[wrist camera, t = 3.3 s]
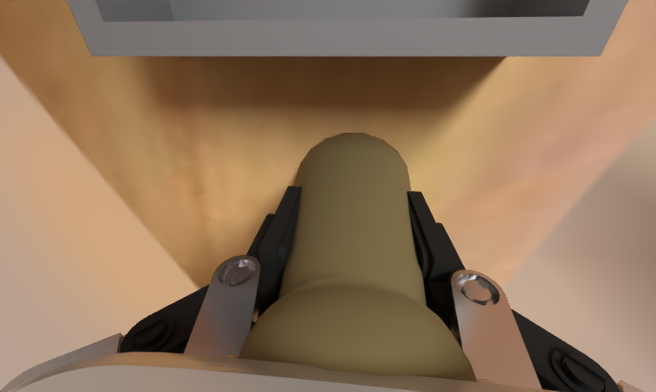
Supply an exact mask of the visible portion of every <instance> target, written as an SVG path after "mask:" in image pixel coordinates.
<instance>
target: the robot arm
mask: <svg viewBox="0 0 656 392" xmlns="http://www.w3.org/2000/svg"><path fill="white" fill-rule="evenodd" d="M300 189H301V187H297V186H288V188H287V190H286V192H285V194H284V196H283V198H282V201H281V203H280V205H279V207H278V209H277V211H276V213H275V214H268V215H267V216H266V218H265V220H264V222H263V224H262V226H261V228H260V230H259V231H258V233H257V235H256V237H255V239H254V241H253V243H252V245H251V247H250V249H249V251H248V253H247V254H246V255H240V256H235V257H232V258H230V259H228V260H226V261H225V262H223V263H222V264H221V265H220V266H219V267H218V268H217V269H216V271H215V273H214V275H213V277H212V280H211V283H210V284H209V285H207V286H205V287H203V288H201V289H200V290H198V291H196V292H194V293H192V294H190V295H188V296H186V297H184V298H182V299H180V300H178V301H176V302H174V303H172V304H170V305H168V306H167V307H165V308H163V309H161V310H159V311H157V312H155V313H153V314H151V315H149V316H147V317H146V318H144V319H143V320H141V321H139V322H138V323H137V324H136V325H135V326H134V327H132V328H131V330H130V331H129V332H128V333H127V334H126V335H124V336H123V335H122V334H121V333H119V334H116V335H113V336H111V337H108V338H106V339H103V340H101V341H98V342H95V343H93V344H90V345H88V346H85V347H82V348H80V349H77V350H75V351H72V352H70V353H67V354H65V355H62V356H59V357H57V358H54V359H52V360H49V361H47V362H44V363H41V364H39V365H37V366H34V367H32V368H30V369H28V370H27V371H24V372H23V373H22V374H20V375H19V376H17V377H16V378H14V379H13V380H12V381H10V382H9V383H8V384H7V385H6V386H5V387H4V388H3V389H2V390H1V391H0V392H643V391H641V390H639V389H638V388H636V387H634V386H632V385H630V384H628V383H626V382H624V381H622V380H621V381H620V382H618V383H616V382H614V380H613V379H612V378H611V376H610V375H609V374H608V373H607V372H606V371H605V370H604V369H603V368H602V367H601V366H600V365H599V364H598V363H596V362H595V361H594V360H592V359H591V358H589V357H588V356H587V355H585V354H584V353H582V352H580V351H578V350H577V349H575V348H574V347H572V346H571V345H569V344H567V343H566V342H564V341H562V340H561V339H559V338H558V337H556V336H554V335H553V334H551V333H550V332H548V331H546V330H545V329H543V328H541V327H540V326H538V325H536V324H535V323H533V322H532V321H530V320H529V319H527V318H525V317H524V316H522V315H520V314H519V313H517V312H515V311H514V310H512V309H511V308H510V306H509V303H508V301H507V298H506V295H505V293H504V292H503V290H502V288H501V287H500V286H499V285H498V284H497V283H496V282H495V281H494V280H492V279H491V278H489V277H488V276H486V275H484V274H482V273H480V272H476V271H473V270H466V269H465V267H464V266H463V264H462V262H461V260H460V258H459V256H458V254H457V252H456V250H455V248H454V246H453V244H452V242H451V240H450V238H449V236H448V234H447V232H446V230H445V228H444V226H443V225H442V224H441V223H436V222H435V220H434V218H433V216H432V213H431V211H430V209H429V207H428V205H427V203H426V201H425V199H424V197H423V195H422V193H421V192H416V191H407V193H408V206H409V215H410V220H411V225H412V229H413V234H414V239H415V243H416V248H417V253H418V257H419V262H420V267H421V273H422V278H423V283H424V288H425V295H426V302H427V308H429V309H430V310H431V311H433V312H434V313H435V314H436V315H438V316H439V317H440V318H441V320H442V321H443V322H444V323H445V325H446V326H447V327H448V328H449V330H450V331H451V332H452V333H453V335H454V336H455V338H456V339H457V341H458V343H459V344H460V346H461V348H462V350H463V352H464V353H465V355H466V356H467V358H468V359H469V361H470V363H471V366H472V368H473V371H474V373H475V376H476V379H477V381H478V382H471V381H462V380H452V379H443V378H433V377H424V376H414V375H390V376H383V375H373V374H364V373H354V372H344V371H335V370H327V369H323V368H318V367H314V366H310V365H303V364H293V363H282V362H271V361H261V360H250V359H239V358H238V357H239V354H240V352H241V349H242V347H243V344H244V342H245V339H246V338H247V336H248V335H249V333H250V331H251V329H252V327H253V325H254V323H255V322H256V320H257V319H258V318H259V317H260V316H261V315H262V314H263V313H264V312H265V311H266V310H267V309H268V308H269V307H270V306H271V305H272V304H273V303H275V302H276V301H278V298H279V292H280V285H281V279H282V275H283V272H284V269H285V266H286V261H287V257H288V253H289V249H290V245H291V240H292V236H293V232H294V228H295V224H296V219H297V215H298V211H299V207H300V192H301V191H300Z"/></svg>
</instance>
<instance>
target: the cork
mask: <svg viewBox="0 0 656 392" xmlns="http://www.w3.org/2000/svg"><path fill="white" fill-rule="evenodd" d="M296 186H297V187H301V189H300V191H301V192H300V207H299V211H298V215H297V219H296V224H295V228H294V232H293V236H292V240H291V245H290V249H289V253H288V257H287V261H286V266H285V269H284V272H283V275H282V279H281V285H280V292H279V298H278V301H276V302H275V303H273V304H272V305H271V306H270V307H269V308H268V309H267V310H266V311H265V312H264V313H263V314H262V315H261V316H260V317H259V318H258V319H257V320H256V322H255V323H254V325H253V327H252V329H251V331H250V333H249V335H248V336H247V338H246V339H245V342H244V344H243V347H242V349H241V352H240V354H239V357H238V358H239V359H250V360H261V361H271V362H282V363H293V364H303V365H310V366H314V367H318V368H323V369H327V370H335V371H344V372H354V373H364V374H373V375H383V376H390V375H414V376H424V377H433V378H443V379H452V380H462V381H471V382H478V381H477V379H476V376H475V373H474V371H473V368H472V366H471V363H470V361H469V359H468V358H467V356H466V355H465V353H464V352H463V350H462V348H461V346H460V344H459V343H458V341H457V339H456V338H455V336H454V335H453V333H452V332H451V331H450V330H449V328H448V327H447V326H446V325H445V323H444V322H443V321H442V320H441V318H440V317H439V316H438V315H436V314H435V313H434V312H433V311H431V310H430V309H429V308H427V302H426V295H425V288H424V283H423V278H422V273H421V267H420V262H419V257H418V253H417V248H416V243H415V239H414V234H413V229H412V225H411V220H410V215H409V206H408V193H407V191H411V187H410V181H409V175H408V170H407V166H406V164H405V162H404V161H403V159H402V158H401V156H400V154H399V153H398V151H397V150H395V149H394V148H393V147H391V146H390V145H389V144H388V143H386V142H385V141H384V140H382V139H379V138H376V137H373V136H370V135H367V134H364V133H343V134H340V135H337V136H333V137H330V138H327V139H325V140H323V141H322V142H320V143H319V144H318V145H316V146H315V147H313V148H312V149H311V150H310V151H309V152H308V154H307V155H306V157H305V158H304V159H303V161H302V162H301V164H300V168H299V172H298V175H297V179H296Z"/></svg>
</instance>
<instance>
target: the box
mask: <svg viewBox="0 0 656 392" xmlns="http://www.w3.org/2000/svg"><path fill="white" fill-rule="evenodd" d="M67 2H68V4H69V7H70V9H71V11H72V13H73V16H74V18H75V20H76V23H77V25H78V27H79V29H80V32H81V34H82V36H83V38H84V41H85V43H86V45H87V47H88V50H89V52H90V54H91V56H601V54H602V52H603V50H604V48H605V46H606V44H607V42H608V40H609V38H610V36H611V34H612V32H613V30H614V28H615V26H616V24H617V22H618V20H619V18H620V16H621V14H622V12H623V10H624V8H625V6H626V4H627V2H628V0H67Z"/></svg>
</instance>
